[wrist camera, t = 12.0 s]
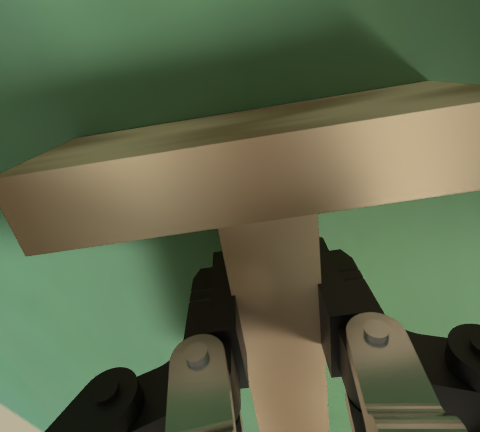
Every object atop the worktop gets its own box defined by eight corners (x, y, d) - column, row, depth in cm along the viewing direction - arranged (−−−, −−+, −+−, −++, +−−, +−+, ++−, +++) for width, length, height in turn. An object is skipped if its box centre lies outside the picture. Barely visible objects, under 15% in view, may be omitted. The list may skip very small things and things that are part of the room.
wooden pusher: (429, 80, 10) (549, 90, 6) (404, 345, 16) (463, 441, 12) (74, 138, 11) (-15, 180, 7) (163, 375, 16) (140, 477, 12)
